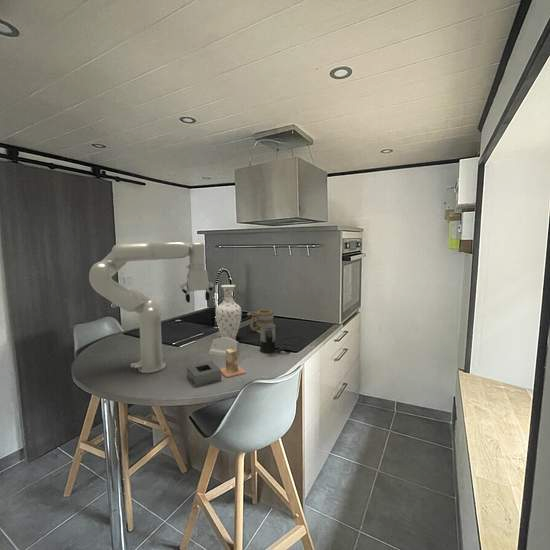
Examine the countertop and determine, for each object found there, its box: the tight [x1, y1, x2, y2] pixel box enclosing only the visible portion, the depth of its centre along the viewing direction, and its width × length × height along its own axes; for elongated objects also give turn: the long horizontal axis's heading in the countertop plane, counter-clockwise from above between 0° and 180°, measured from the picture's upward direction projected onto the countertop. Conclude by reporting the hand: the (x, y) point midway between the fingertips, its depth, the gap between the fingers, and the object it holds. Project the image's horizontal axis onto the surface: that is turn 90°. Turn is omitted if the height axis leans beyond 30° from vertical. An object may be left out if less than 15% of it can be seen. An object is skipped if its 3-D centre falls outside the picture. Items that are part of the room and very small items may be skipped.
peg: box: [225, 348, 239, 373], centre depth 145 cm, size 4×4×10 cm
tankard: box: [246, 309, 275, 334], centre depth 208 cm, size 20×13×15 cm, turn 118°
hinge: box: [208, 337, 240, 357], centre depth 168 cm, size 17×5×10 cm, turn 70°
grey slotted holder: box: [186, 360, 222, 388], centre depth 138 cm, size 12×12×5 cm
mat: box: [218, 365, 247, 379], centre depth 145 cm, size 10×10×1 cm
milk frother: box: [259, 324, 291, 354], centre depth 172 cm, size 14×16×15 cm
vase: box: [215, 284, 242, 341], centre depth 188 cm, size 16×16×35 cm
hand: (197, 301), depth 152 cm, fingers open, 9 cm apart
